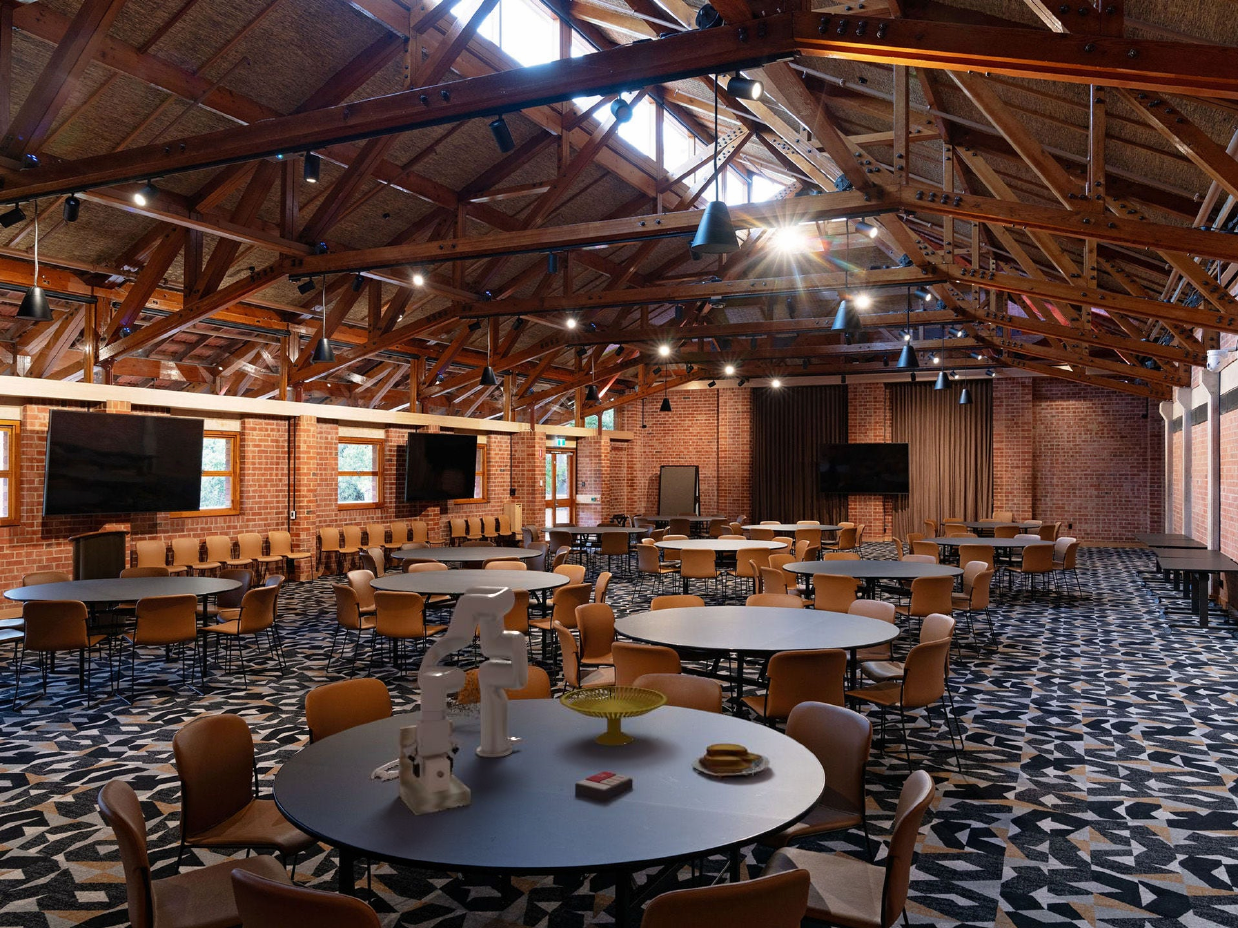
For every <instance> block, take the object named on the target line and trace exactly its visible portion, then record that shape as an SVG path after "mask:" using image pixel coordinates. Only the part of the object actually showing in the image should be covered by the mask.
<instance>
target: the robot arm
mask: <svg viewBox="0 0 1238 928" xmlns="http://www.w3.org/2000/svg"><path fill="white" fill-rule="evenodd" d="M515 600H516V597H515V592H514V591H513V589H511V588H510V587H508V586H490V585H489V586H487V585H486V586H485V585H474V586H470V587H468V588H466V589H465V592H464V595H461V596H460V597H459V598H458V600H457V602H456V605H455V607H454V610H453V614H452V616H451V620H450V623H449V625H448V628H447V631H446V633H445V635H444V636H442V637H441V638H439V639H438V640H437V641H436V642H435V643H433V645H432V646H430V647H429V648H428V649H427V651H426V652H425V655H424V656H423V659H422V660H421V661H422V662H421V665H420V666H419V670H418V673H417V674H418V675H417V685H418V686H419V688H420V713H419V714H420V718H419V719H418V720H417V722H416V725H417V726H416V732H415V742H413V743H412V744H411V745H409V746H408V747H406V748H405V749H404V752H405V754H406V756H407V758H408V759H409V760H411V761H412V762H413V774H414V775H415V776H416V777H417V778H419V777H420V764H419V761H420V759H421V758H422V757H423V756H430V755H436V754H442V753H447V754H448V756H447V757H446V758H447V759H448V760H449V761H450V772H452V773H453V768H454V758H455V756H456V754H458V752H459V750H460V748H461V746H462V744H463V740H461V739H460V738H456V737H454V736H453V737H452V736H451V730H450V724H449V720H450V719H449V716H448V715H447V714H450V713H451V714H452V711H451V708H450V709H448V707H447V706H446V705H448V704H447V703H448V702H447V694H448V693H451V694H452V693H453V694H454V692H455V693H458V692H457V691H461V690H462V688H464V687H465V686H464V685H465V683H466V681H465V680H466V679H465V678H466V672H465V671H464V670H463V669H462V668H459V667H456V666H445V665H442V666H441V665H438V663H439V662H440V661H441V660H442V659H444V657H446V656H447V655H450V654H451V653H455V652H457V651H459V650H462V649H463V648H466V647H468V646H470V645H471V644H472V642H473V640H474V637H475V634H476V631H477V627H478V626H479V638H480V641H479V642H480V649H481V654H482V655H483V657H486V658H488V659H489V658H491V659H490V660H486V661H483V662H482V663H481V664H480V665H479V667H478V671H477V678H478V681H479V682H478V683H479V688H480V691H479V692H480V693H481V694H480V697H481V698H480V746H478V747H477V748H476V750H475V752H476V754H477V756H480V757H483V758H501V757H504V756H508V755H510V754H512V753H513V752H514V751H513V750H514V749H513V748H514V747H513V746H514V745H520V744H522V738H521V737H518V738H517V737H510V736H509V699H508V696H507V694H506V692H505V690H507V689H509V690H523V689H524V688H525V687H526V686H527V684H528V681H529V667H528V664H529V663H528V662H529V661H528V644H527V640H526V636H525V635H524V634H523V632H520V631H517V630H506V628H505V622H504V621H505V619H504V616H506V615H507V614H509V612H510V611H511V610H512V609H513V607H514V605H515V602H516V601H515ZM497 659H498V660H497ZM499 659H503V660H499ZM504 659H505V660H504ZM507 659H508V660H507ZM463 686H464V687H463ZM446 707H447V708H446ZM451 742H453V744H454V743H455V745H454V746H453V749H452V750H451ZM413 749H414V750H415V752H416V754H415V755H414V756H412V755H411V753H410V751H411V750H413Z"/></svg>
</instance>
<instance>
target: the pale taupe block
mask: <svg viewBox="0 0 1238 928" xmlns="http://www.w3.org/2000/svg"><path fill="white" fill-rule="evenodd" d="M419 764H420V777H419V778H417V781H418V782H419V783H420V784H421V785H422V786H423V787H424V788H425V789H426V790H427V791H428V792H429V793H433V792H438V791H443V790H448V789H450V761H449V760H448V759H447V758H446V757H444V756H443V755H442V754H436V755H430V756H423V757H422V758H421V759H420V761H419Z"/></svg>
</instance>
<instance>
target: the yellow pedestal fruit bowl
mask: <svg viewBox="0 0 1238 928" xmlns="http://www.w3.org/2000/svg"><path fill="white" fill-rule="evenodd" d="M605 690H606V691H605ZM601 692H602V693H601ZM610 692H611V693H610ZM640 692H641V693H640ZM614 693H615V694H614ZM606 694H607V695H606ZM610 694H611V695H610ZM618 694H619V695H618ZM622 695H623V696H622ZM630 695H631V696H630ZM558 701H559V702H560V704H561V705H562V706H564V707H566V708H568V709H570V710H572V711H575V712H577V713H579V714H580V715H584V716H587V717H592V718H598V719H599V718H601V719H603V718H604V719H606V721H607V722H606V732H603V733H602V734H600V735H598V736H596V737H595V738H594V741H595V742H596V743H597V744H599V743H601V744H600V745H603V744H604V746H613V745H614V746H622V745H621V744H624V743H628V744H630V743H629V742H630V741H632V739H633V740H634V738H633V736H631V735H629V734H626V733H625V732H623V731H622V718H623V719H626V718H628V719H629V718H633V717H634V718H635V717H640V716H644V715H646V714H648V713H650V712H652V711H654V710H655V711H656V709H659V708H661V707H663V706H665V705H666V704H667V703H668V702H669V697H668V696H667V695H666V694H664V693H662V692H659V691H656V690H653V689H649V688H644V687H635V686H620V685H619V686H618V685H617V686H615V685H614V686H598V687H596V686H595V687H586V688H581V689H577V690H573V691H570V692H567V693H564V694H562V695H561V696H560V697H559V699H558ZM632 742H633V741H632Z"/></svg>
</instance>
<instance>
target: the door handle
mask: <svg viewBox="0 0 1238 928" xmlns="http://www.w3.org/2000/svg"><path fill="white" fill-rule="evenodd" d="M395 765H398V766H399V758H398V759H396V760H393V761H391V762H388V763H386V764H384V765H382V766H380V767H377V768H375V769H374V770H373V772H372V773H371V777H370V778H371V780H374V779H375V778H377V777H379V778H381V779H380V782H384V780H385V781H388V780H387V779H390V780H393V779H392V778H394V779H395V777H396V778H398V777H397V776H399V769H398V770H395V771H394V770H390V771H388V770H387V769H388V768H391V767H393V768H395V767H394V766H395ZM391 769H392V768H391ZM384 770H387V771H384ZM376 776H377V777H376ZM374 777H375V778H374Z"/></svg>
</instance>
